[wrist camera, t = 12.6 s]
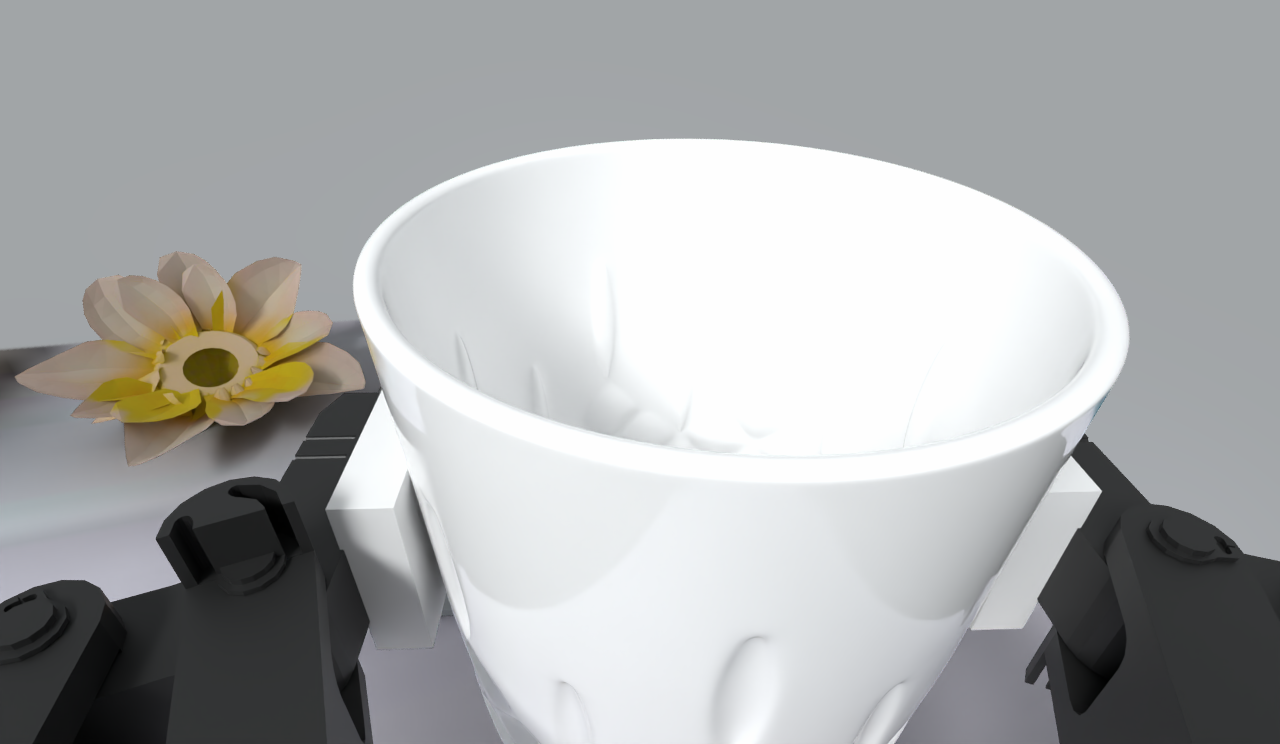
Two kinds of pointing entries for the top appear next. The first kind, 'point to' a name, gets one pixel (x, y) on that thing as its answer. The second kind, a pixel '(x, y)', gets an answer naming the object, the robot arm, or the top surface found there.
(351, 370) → the decorative flower
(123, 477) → the top surface
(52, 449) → the top surface
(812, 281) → the white cup
